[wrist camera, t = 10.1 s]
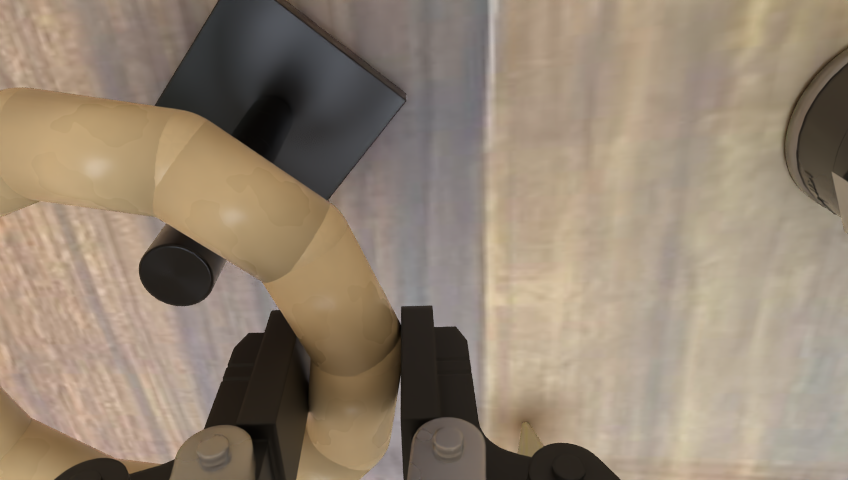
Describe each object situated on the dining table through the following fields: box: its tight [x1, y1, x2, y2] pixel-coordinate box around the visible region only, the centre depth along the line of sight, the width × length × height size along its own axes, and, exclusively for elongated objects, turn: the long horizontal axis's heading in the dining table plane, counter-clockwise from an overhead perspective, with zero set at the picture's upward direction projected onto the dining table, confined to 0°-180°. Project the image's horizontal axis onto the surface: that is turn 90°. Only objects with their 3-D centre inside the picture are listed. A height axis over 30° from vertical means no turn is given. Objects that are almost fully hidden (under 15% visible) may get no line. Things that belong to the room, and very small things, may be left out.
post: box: [139, 0, 406, 306], centre depth 24 cm, size 9×9×15 cm
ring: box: [0, 88, 401, 480], centre depth 14 cm, size 12×12×2 cm
